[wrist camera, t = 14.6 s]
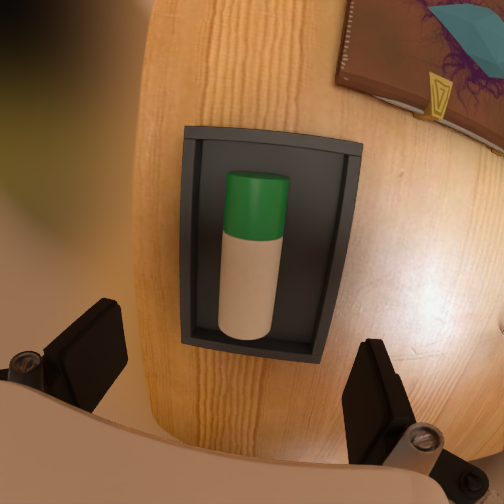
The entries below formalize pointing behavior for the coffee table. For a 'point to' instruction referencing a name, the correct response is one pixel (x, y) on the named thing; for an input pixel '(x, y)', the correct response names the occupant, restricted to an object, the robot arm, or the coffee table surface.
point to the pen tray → (294, 237)
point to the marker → (251, 252)
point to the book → (430, 60)
